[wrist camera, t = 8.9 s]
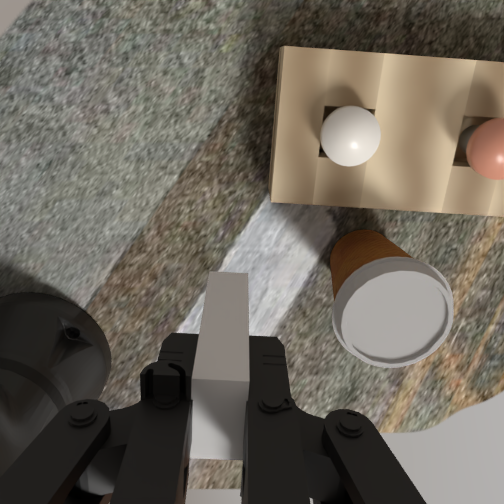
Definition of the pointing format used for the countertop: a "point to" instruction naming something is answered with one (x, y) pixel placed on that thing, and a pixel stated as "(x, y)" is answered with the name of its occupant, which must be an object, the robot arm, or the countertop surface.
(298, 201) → the block
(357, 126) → the white mushroom knob
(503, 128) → the pink round-capped knob part
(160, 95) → the countertop surface
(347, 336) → the disposable coffee cup
